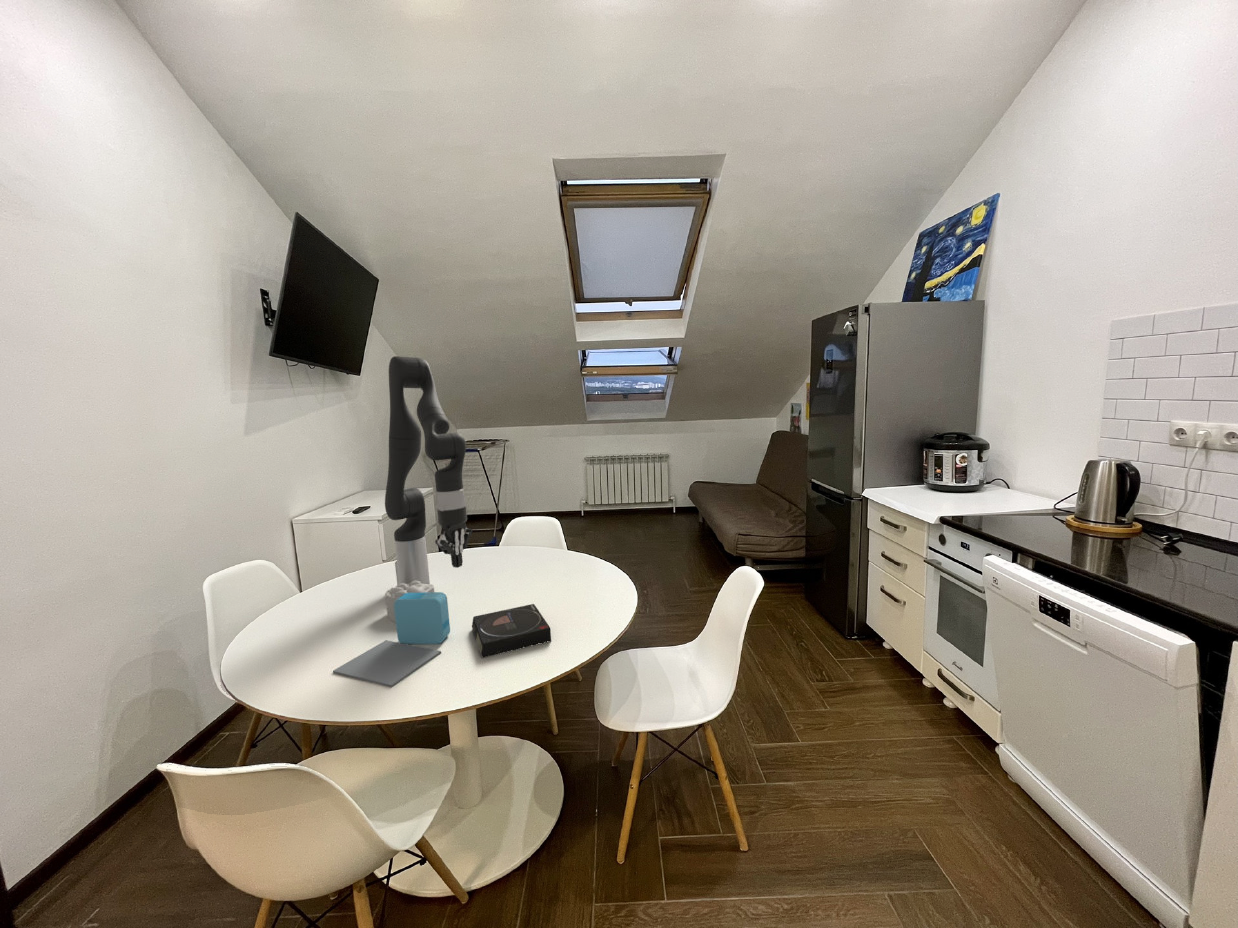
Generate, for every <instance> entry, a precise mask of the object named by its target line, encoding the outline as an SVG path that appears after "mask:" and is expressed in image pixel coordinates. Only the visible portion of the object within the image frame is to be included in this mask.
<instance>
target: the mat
mask: <svg viewBox="0 0 1238 928" xmlns="http://www.w3.org/2000/svg"><path fill="white" fill-rule="evenodd" d="M441 654H442V651H441V650H437V649H432V648H427V647H423V646H417V645H414V644H403V643H400V642H399V641H398V642H397V641H392V640H386V639H385V640H384V641H382V642H380V643H379V644H377V645H375V646H373V647H371V648H369V649H368V650H366V651H365V652H362V653H361V654H360V655H358V656H356V657H354V658H352V659H351V660H349V661H348V662H346V663H343V664H342V665H340V666H339V667H337V668H335V669H334V670H333V671H332V673H333V674H337V675H340V676H344V677H345V676H346V677H349V678H353V679H355V680H361V681H365V682H369V683H373V684H377V685H381V686H385V687H389V688H393V687H395V686H396V685H397V684H399V683H400V682H401V681H403V680H405V679H406V678H407V677H409V676H410V675H412V674H413V673H415V672H416V671H417V670H420V668H422V667H423V666H425V665H427V664H428V663H429V662H430V661H432V660H434V658H436V657H438V656H439V655H441Z"/></svg>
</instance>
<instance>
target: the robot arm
mask: <svg viewBox="0 0 1238 928" xmlns="http://www.w3.org/2000/svg"><path fill="white" fill-rule="evenodd" d="M388 364H389V365H388V387H389V388H388V389H389V390H388V391H389V427H388V428H389V429H388V469H387V470H388V471H387V480H386V486H385V487H386V488H385V496H384V507H385V513H386V515H387V517H388V518H389V519H390V520H392V521H399V520H400V521H401V520H405V521H404V523H403V524H401V526H399V527H398V528H397V529H395V530H394V532H393V533H394V534H393V537H394V547H395V555H396V561H394V566H395V567H394V568H395V575H396V576H395V578H396V586H397V585H399V584H401V583H404V584H406V585H407V584H410V583H411V582H413V581H419V582H421V584H430V583H431V580H430V571H429V561H428V560H429V559H428V552H427V551H428V550H427V543H426V528H427V519H426V501H425V497H424V494H423V492H422V491H421V490H420V489H419V488H418V487H410V488H405V485H406V480H407V477H408V475H409V473H410V472H411V470H412V468H413V466H414V464H415V463H416V462H417V460H418V458H419V456H420V454H421V450H422V430H423V435H424V453H425V455H426V456H427V458H429V459H430V460H432V461H445V460H450V462H449V463H448V465H447V466H444V467H442V468H439V469H437V470H436V471H435V472H434V480H435V481H434V482H435V489H436V490H435V491H436V493H435V494H436V495H435V502H436V510H437V511H436V512H437V520H438V524H439V525H440V527H441V531H440V537H439V538H438V539H435V541H434V543H435V545H437V547H438V548H439V549H440V550H441V551H442V552H443V554H445V555H450V559H451V561H450V562H451V565H452V567H453V568H460V567H462V566H463V552H464V550H466V549H467V547H468V545H469V542H470V540H471V537H472V533H473V529H472V528H468V527H467V524H466V522H467V520H468V515H467V514H468V513H467V506H466V505H467V504H466V495H465V491H464V484H463V482H464V481H463V467H464V460H465V456H466V450H467V443H466V440H465V438H464V436H463V435H462V434H461V433H458V432H449V430H450V423H449V420H448V418H447V416H446V413H445V412H444V410H443V407H442V406H441V403H440V400H439V396H438V392H437V388H436V383H435V379H434V377H433V373H432V369H431V367H430V364H429V362H428V361H427V360H426V359H425V358H421V357H414V356H413V357H411V356H398V355H397V356H392V357H391V358H390V360H389V363H388ZM404 389H420V390H422V395H421V397H420V399H419V401H418V403H417V406H416V414H417V415H416V416H417V418H418V421H419V423H420V424H419V423H418V421H417V420H416V418H415V416H414V415H413V414H412V412H411V411H410V409H409V408H408V405H407V403H406V399H405V395H404ZM420 425H421V427H420ZM421 428H422V429H421ZM448 432H449V433H448ZM430 585H431V584H430Z"/></svg>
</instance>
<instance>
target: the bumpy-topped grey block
mask: <svg viewBox="0 0 1238 928" xmlns="http://www.w3.org/2000/svg"><path fill="white" fill-rule="evenodd" d="M425 592H435V586H434V585H432V584H421V582H419V581H413V582H411V583H410V584H407V585H406V584H404V583H401V584H399V585H397V584H396V586H395V587H391V588H389V589H387V590H386V592H385V593H384V597H385V605H386V613H387V619H388V620H389V621H392V622H394V623H396V619H395V610H394V603H395V601H396V600H397V599H399V598H400V597H401V596H402V595H404V594H405V593H425Z"/></svg>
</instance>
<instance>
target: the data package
mask: <svg viewBox="0 0 1238 928" xmlns="http://www.w3.org/2000/svg"><path fill="white" fill-rule="evenodd" d="M394 610H395V619H396V622H395V626H396V634H397V636H396V637H397V640H398V643H403V644H408V645H440V644H441V643H443V642H444V641H445V639H446V638H447V637H448V635H449V634H450V633H451V626H450V614H449V604H448V597H447V595H446V593H444V592H442V591H438V592H436V591H434V592H425V593H405V594H404V595H402V596H401V597H400V598H399V599H397V600H396V601H395V603H394Z"/></svg>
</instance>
